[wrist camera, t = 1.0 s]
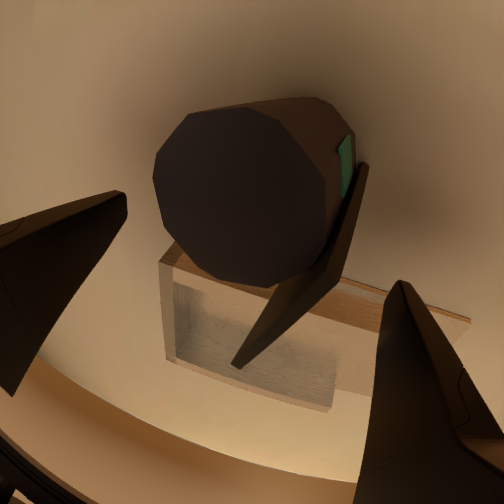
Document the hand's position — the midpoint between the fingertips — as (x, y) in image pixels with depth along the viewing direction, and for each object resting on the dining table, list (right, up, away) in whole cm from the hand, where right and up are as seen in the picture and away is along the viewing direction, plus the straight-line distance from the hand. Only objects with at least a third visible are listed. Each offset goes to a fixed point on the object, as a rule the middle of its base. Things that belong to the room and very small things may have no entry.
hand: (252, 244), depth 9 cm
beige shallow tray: (+5, -7, +14) cm, 16 cm away
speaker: (+2, +5, +7) cm, 9 cm away
